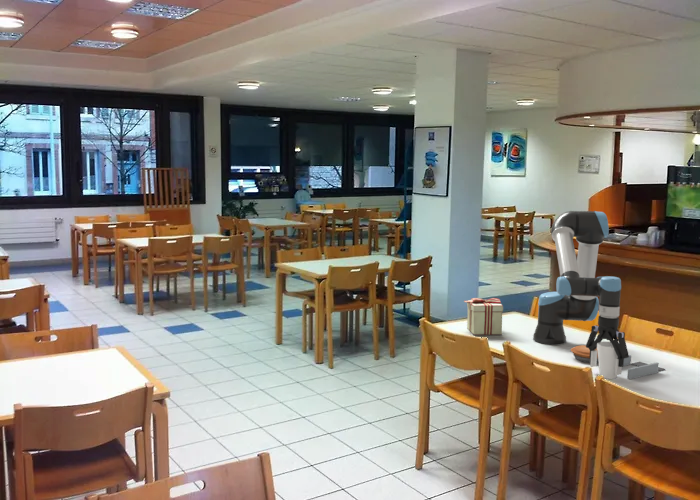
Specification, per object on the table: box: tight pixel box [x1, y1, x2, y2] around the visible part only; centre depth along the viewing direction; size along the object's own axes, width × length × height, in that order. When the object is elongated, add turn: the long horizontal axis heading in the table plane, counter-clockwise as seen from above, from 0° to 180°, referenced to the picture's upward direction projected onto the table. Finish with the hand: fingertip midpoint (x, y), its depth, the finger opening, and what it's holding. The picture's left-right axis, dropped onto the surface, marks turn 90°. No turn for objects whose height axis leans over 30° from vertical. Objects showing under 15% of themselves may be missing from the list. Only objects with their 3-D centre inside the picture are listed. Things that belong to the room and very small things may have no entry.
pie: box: [570, 344, 599, 364], centre depth 283 cm, size 16×16×5 cm
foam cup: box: [597, 340, 618, 380], centre depth 258 cm, size 10×9×13 cm
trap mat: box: [630, 361, 666, 373], centre depth 272 cm, size 12×6×1 cm, turn 30°
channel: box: [623, 354, 659, 380], centre depth 266 cm, size 14×18×4 cm
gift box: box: [463, 297, 504, 336], centre depth 329 cm, size 17×18×17 cm
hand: (605, 370), depth 258 cm, fingers open, 11 cm apart
